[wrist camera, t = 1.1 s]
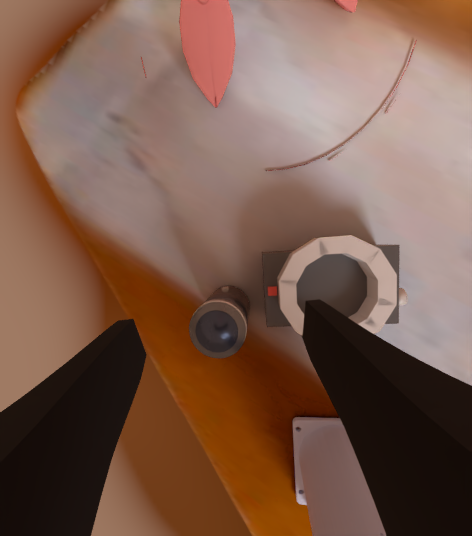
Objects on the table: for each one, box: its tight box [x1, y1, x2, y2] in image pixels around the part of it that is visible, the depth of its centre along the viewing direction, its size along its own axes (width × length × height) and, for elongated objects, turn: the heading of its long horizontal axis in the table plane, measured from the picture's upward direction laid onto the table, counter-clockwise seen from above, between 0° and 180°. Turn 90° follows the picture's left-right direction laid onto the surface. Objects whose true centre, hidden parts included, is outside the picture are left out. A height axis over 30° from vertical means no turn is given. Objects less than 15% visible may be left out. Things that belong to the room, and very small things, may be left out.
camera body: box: [262, 235, 407, 335], centre depth 17 cm, size 8×11×4 cm
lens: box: [189, 286, 250, 358], centre depth 17 cm, size 4×4×6 cm
